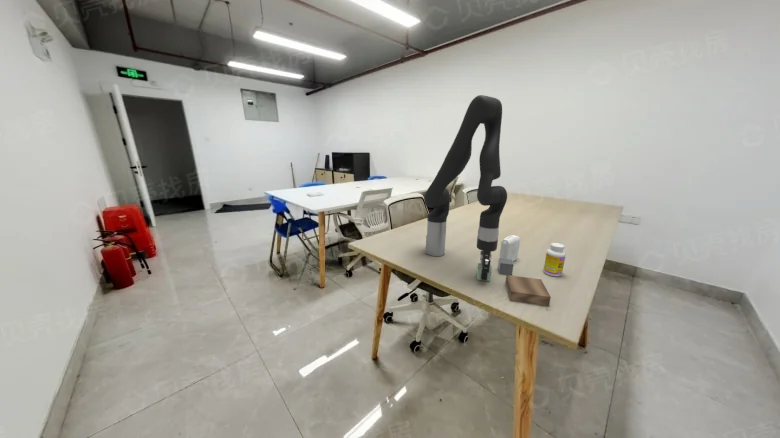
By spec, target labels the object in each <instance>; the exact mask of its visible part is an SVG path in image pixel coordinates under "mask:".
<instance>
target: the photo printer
mask: <svg viewBox="0 0 780 438" xmlns="http://www.w3.org/2000/svg"><path fill="white" fill-rule="evenodd" d="M520 244H521V238H520V236H518V235H513V234H512V235H507V236H506V237H505V238H504V239H502V241H501V243H500V250H499V258H502V259H511V260H512V262H513V263H514V262H515V261H517V260H518V259H519V258H518V257H519V250H520Z"/></svg>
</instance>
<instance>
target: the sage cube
mask: <svg viewBox="0 0 780 438" xmlns="http://www.w3.org/2000/svg"><path fill="white" fill-rule="evenodd" d="M491 265H492V264H490V268H489V273H488V274H487V280H482V279H481V273H482V270H481V269H482V265H481V262H480V263H479V262H478V263H477V265H476V266H477V267H476V280H478V281H485V282H491V279H492V272H493V271H492V266H491ZM485 269H487V268H485Z"/></svg>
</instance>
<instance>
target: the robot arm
mask: <svg viewBox="0 0 780 438" xmlns="http://www.w3.org/2000/svg"><path fill="white" fill-rule="evenodd" d="M502 118H503V103H502V102H501V101H500V99H498V98H497V97H493V96H490V95H489V96H488V95H484V94H483V95H482V94H480V95H476V96H475V97H474V98H473V99H472V100H471V102H469V104H468V108H467V109H466V111H465V114H464V117H463V119H462V122H461V125H460V126H459V129H458V132H457V133H456V135H455V138H454V140H453V143H452V144H451V146H450V148H449V150H448V151H447V153H446V156H445V157H444V160H443V162H442V163H441V165H440V168H439V170H438V172H437V174H436V175H435V177H434V179H433V180H432V182H431V184H430V185H429V187H428V188H427V190H426V191H425V194H424V198H423V199H424V204H425V205H426V207H427V208H431V209H432V208H433V209H432V211H430V212H429V213H428V214H427V222H426V223H427V224H426V225H427V226H426V237H425V254H426V255H429V256H433V257H441V256H442V257H443V255H445V254H446V240H447V239H446V238H447V220H448V217H449V213H450V205H451V194H450V191H449V189H447V187H448V186H449V184H451V183H452V182H453V181H454V180H455V179H457V178H458V177H459V175H461V174H462V172H463V171H464V170H465V168H466V167H467V165H468V163H469V161H470V159H471V156H472V146H473V145H472V142H473V139H474V136H475V133H476V131H477V130H478V127H480V125H481V124H482V125H483V126H484V132H485V134H484V136H485V137H484V141H483V145H482V147H481V150H480V153H479V161H478V163H479V174H480V175H479V181H478V187H477V191H476V199H477V201H478V202H479V204H480V205H481V206H484V207H487V206H489V207H488V208H487V209H484V210H483V211H481V212H480V216H479V223H478V229H477V238H476V248H477V249H478V250H479V251H480V252H479V253H480V263H481V265H482V269H481V270H482V273H481V279H482V280H481V281H483V280H487V274H488V273H489V268H490V265H491V259H492V257H493V255H492V252H495V251H497V249H498V241H499V229H500V228H499V227H500V219H501V216H502V213H503V211H504V208H505V205H506V204H507V201H508V200H507V199H508V192H507V190H506V188H505V187H504V186H502V185H493V181H495V180H497V179H500V177H501V173H502V172H501V171H502V170H501V158H500V141H501V132H502V131H501V129H502ZM485 268H487V269H485Z"/></svg>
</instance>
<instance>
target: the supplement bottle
mask: <svg viewBox="0 0 780 438" xmlns="http://www.w3.org/2000/svg"><path fill="white" fill-rule="evenodd" d="M564 250H565V245H564V244H562V243H557V242H551V243H550V248H548V249H547V250H546V252H545V259H544V264H543V269H542V270H543V272H544V274H546V275H548V276H551V277H561V276H562V275H563V270H564V266H565V260H566V254H567V253H566V252H565V251H564Z"/></svg>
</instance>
